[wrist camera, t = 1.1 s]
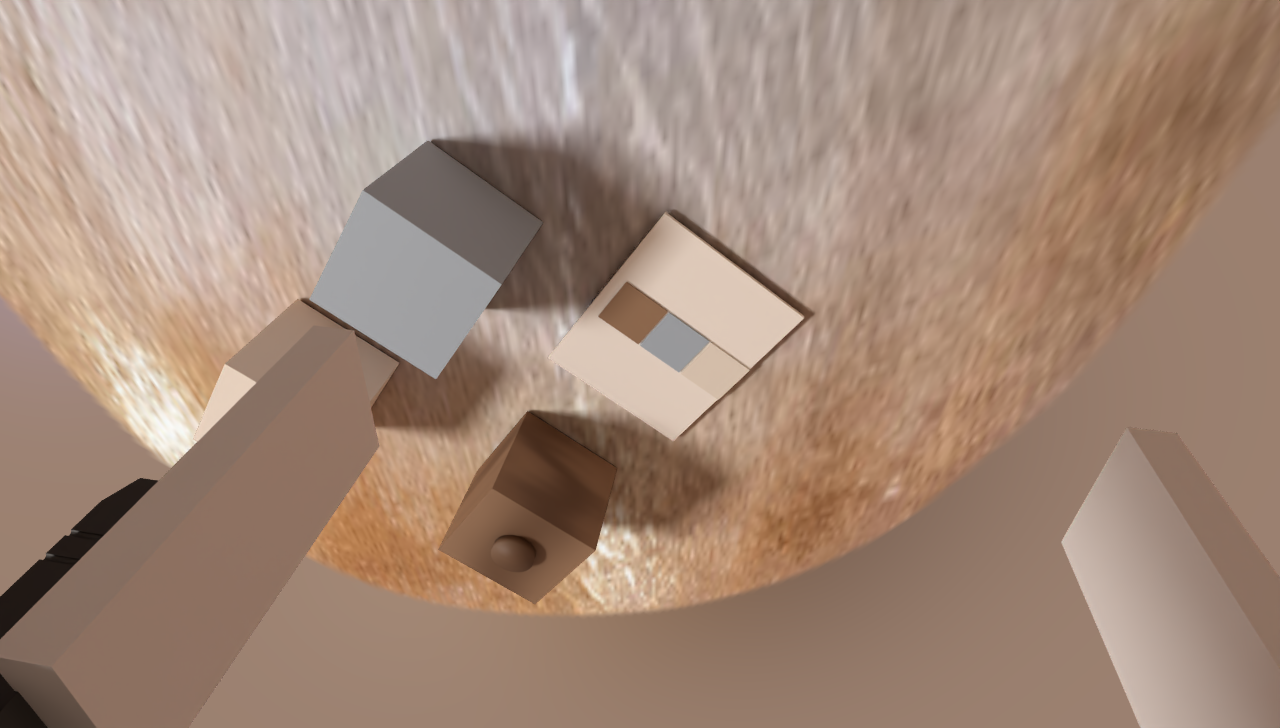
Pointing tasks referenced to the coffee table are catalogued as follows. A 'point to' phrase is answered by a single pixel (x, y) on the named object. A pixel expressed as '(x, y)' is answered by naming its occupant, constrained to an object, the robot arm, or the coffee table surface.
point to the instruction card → (674, 329)
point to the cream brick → (271, 349)
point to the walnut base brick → (532, 510)
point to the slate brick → (423, 257)
